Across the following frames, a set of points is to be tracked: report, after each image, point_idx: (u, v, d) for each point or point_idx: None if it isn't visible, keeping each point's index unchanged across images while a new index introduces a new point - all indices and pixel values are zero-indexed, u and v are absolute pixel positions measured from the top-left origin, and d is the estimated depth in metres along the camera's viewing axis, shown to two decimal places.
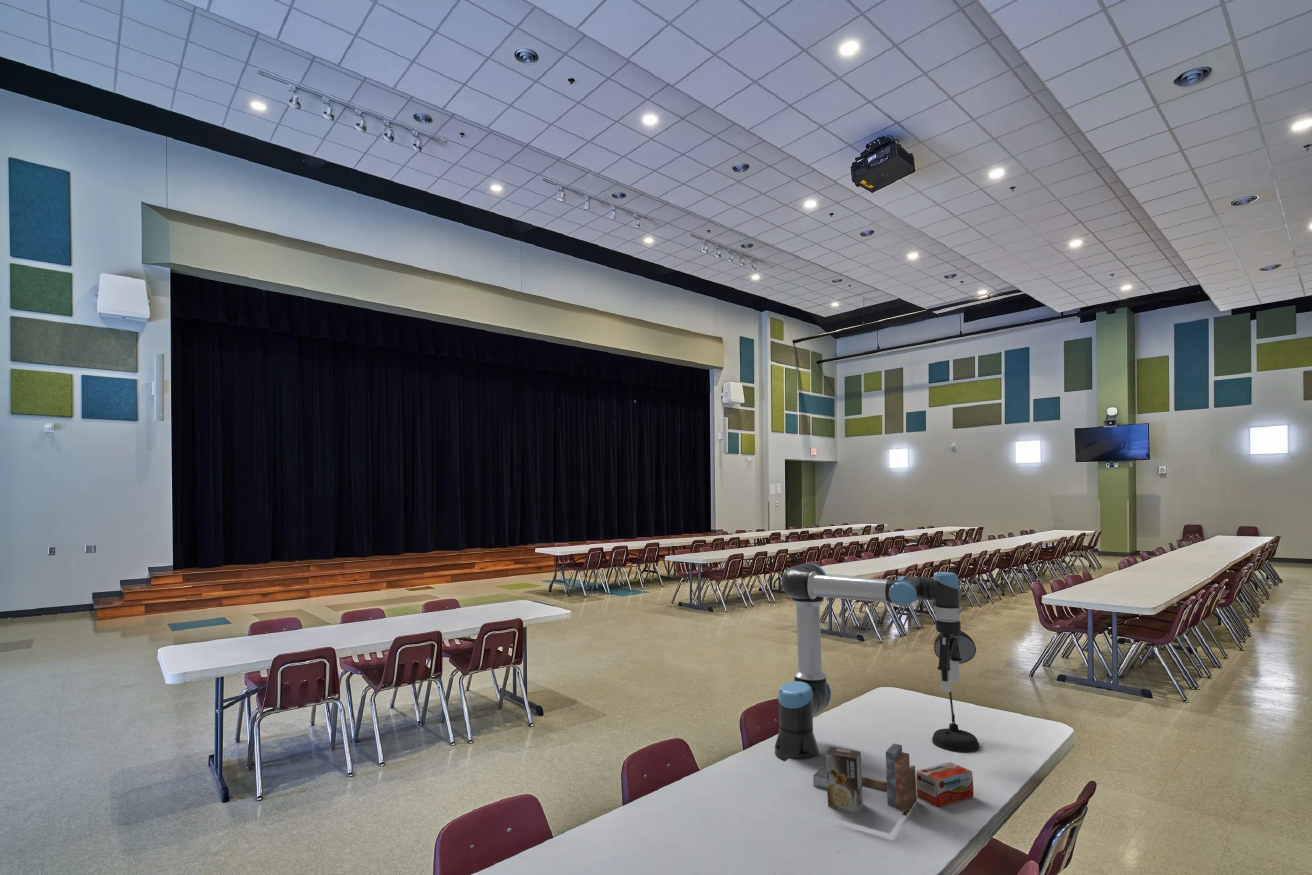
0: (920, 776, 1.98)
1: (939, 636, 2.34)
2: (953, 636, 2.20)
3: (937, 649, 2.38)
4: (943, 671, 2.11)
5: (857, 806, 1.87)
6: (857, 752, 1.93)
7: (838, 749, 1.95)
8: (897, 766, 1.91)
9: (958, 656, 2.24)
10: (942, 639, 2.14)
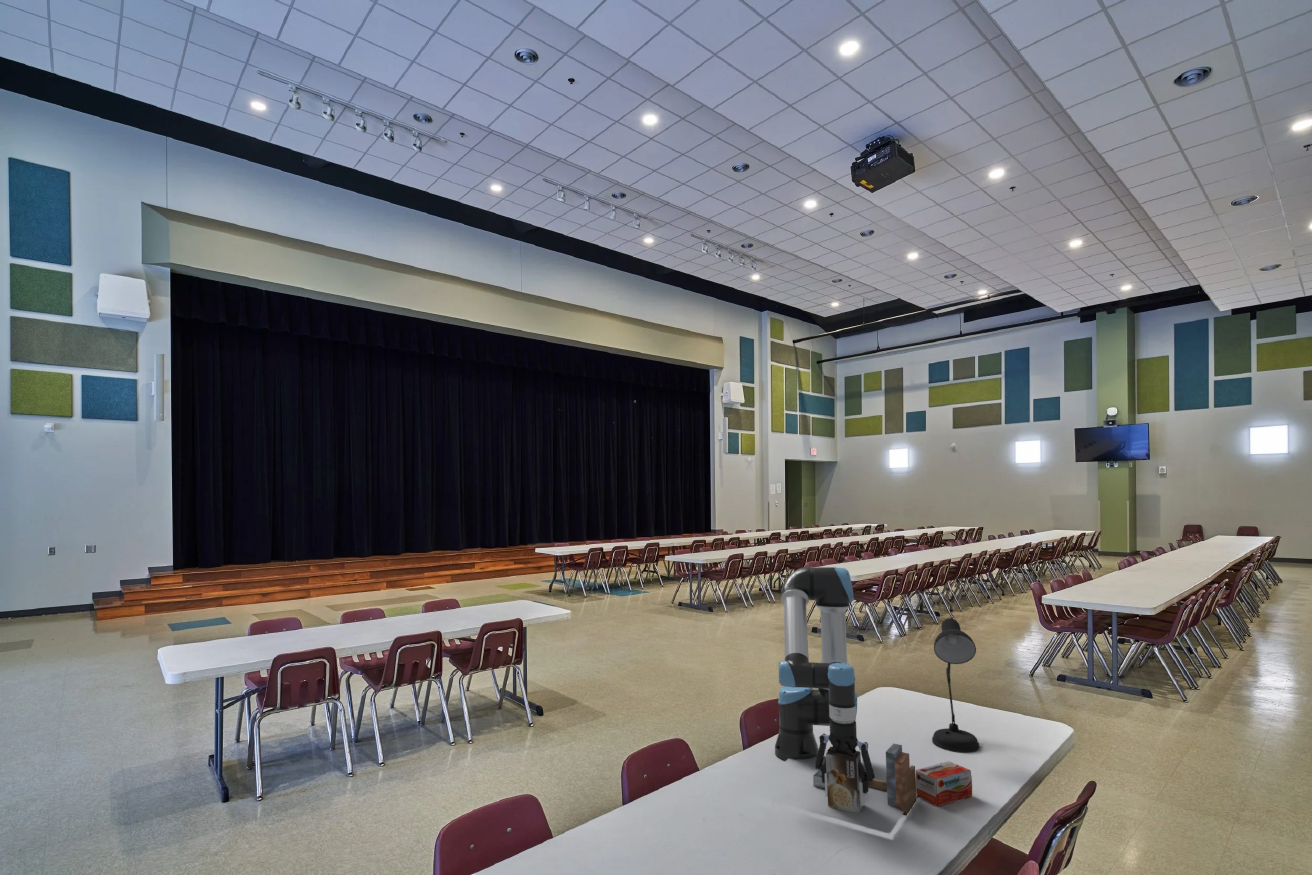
0: (920, 775, 1.99)
1: (939, 636, 2.34)
2: (848, 740, 1.91)
3: (937, 649, 2.38)
4: None
5: (857, 806, 1.87)
6: (857, 752, 1.93)
7: None
8: (897, 766, 1.91)
9: (863, 776, 1.88)
10: None
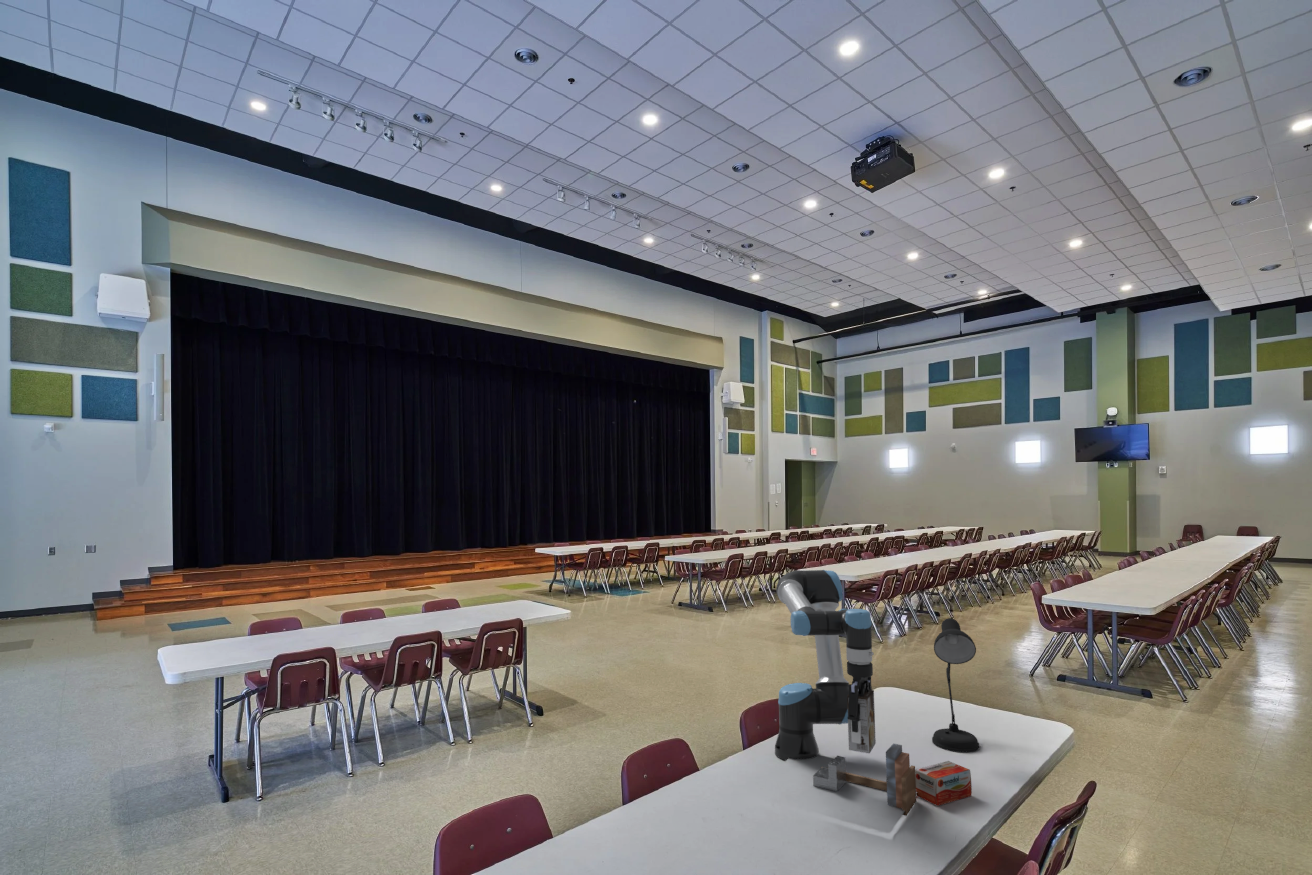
0: (919, 775, 1.99)
1: (939, 636, 2.34)
2: (865, 678, 2.03)
3: (937, 649, 2.38)
4: (853, 721, 1.96)
5: None
6: None
7: None
8: (897, 766, 1.91)
9: None
10: (851, 686, 1.97)
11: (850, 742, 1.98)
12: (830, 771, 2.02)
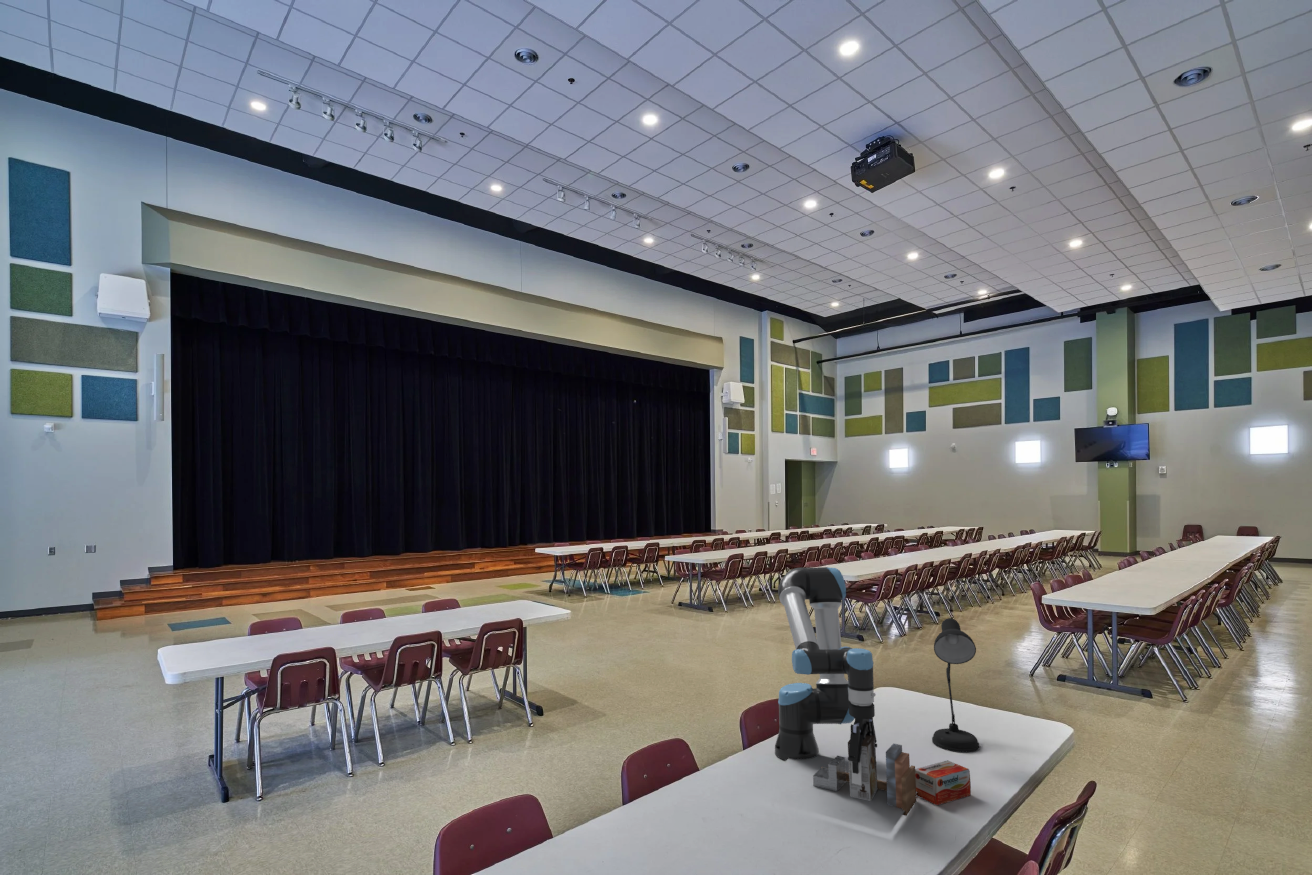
0: (919, 774, 1.99)
1: (939, 636, 2.34)
2: (867, 719, 2.02)
3: (937, 649, 2.38)
4: (853, 762, 1.94)
5: (876, 780, 2.02)
6: None
7: None
8: (897, 766, 1.91)
9: None
10: (853, 726, 1.96)
11: (851, 789, 1.97)
12: (830, 771, 2.02)
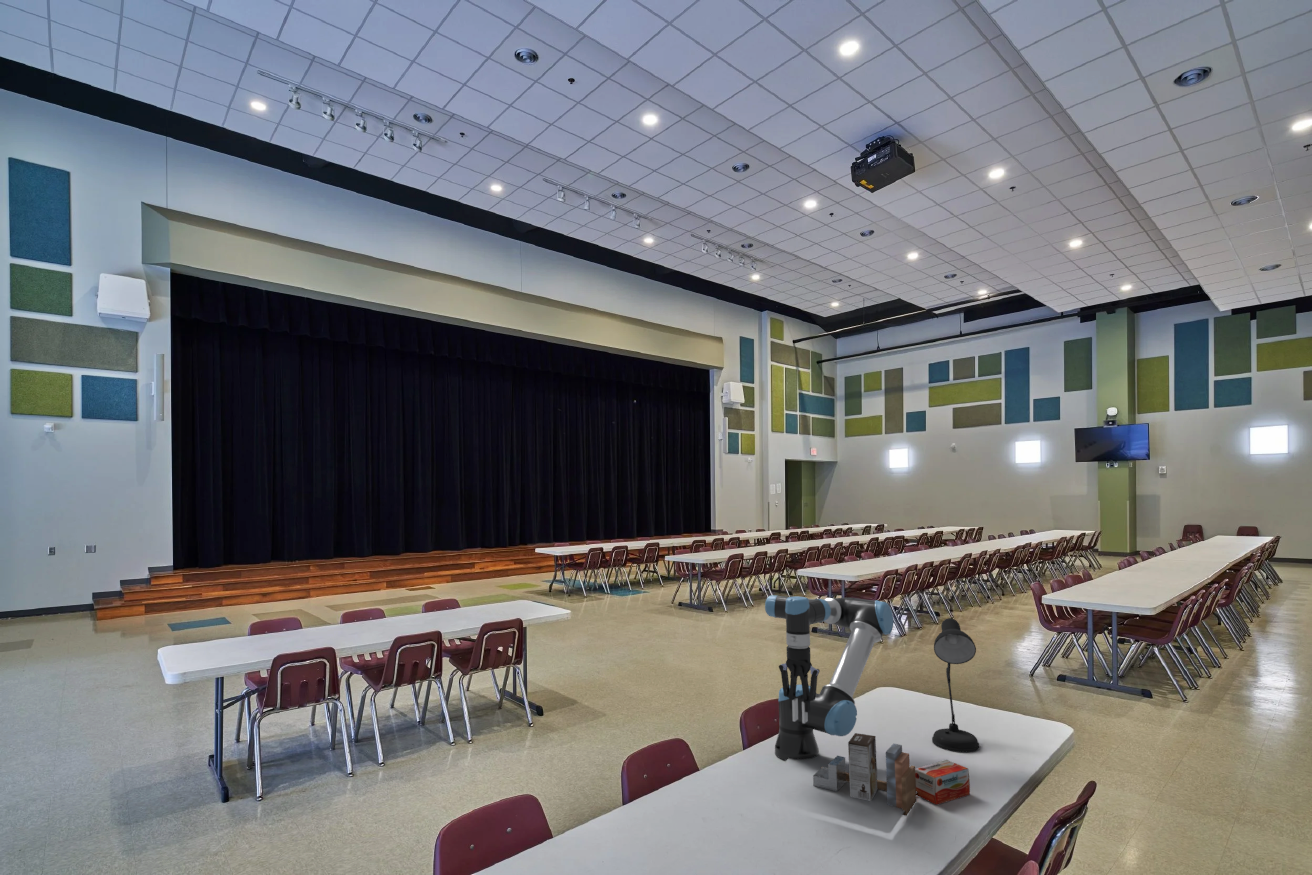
0: (918, 774, 2.00)
1: (939, 636, 2.34)
2: (803, 663, 2.12)
3: (937, 649, 2.38)
4: None
5: (876, 780, 2.02)
6: (859, 734, 2.05)
7: (856, 739, 2.00)
8: (897, 766, 1.91)
9: (806, 697, 2.10)
10: None
11: (851, 789, 1.97)
12: (830, 771, 2.02)
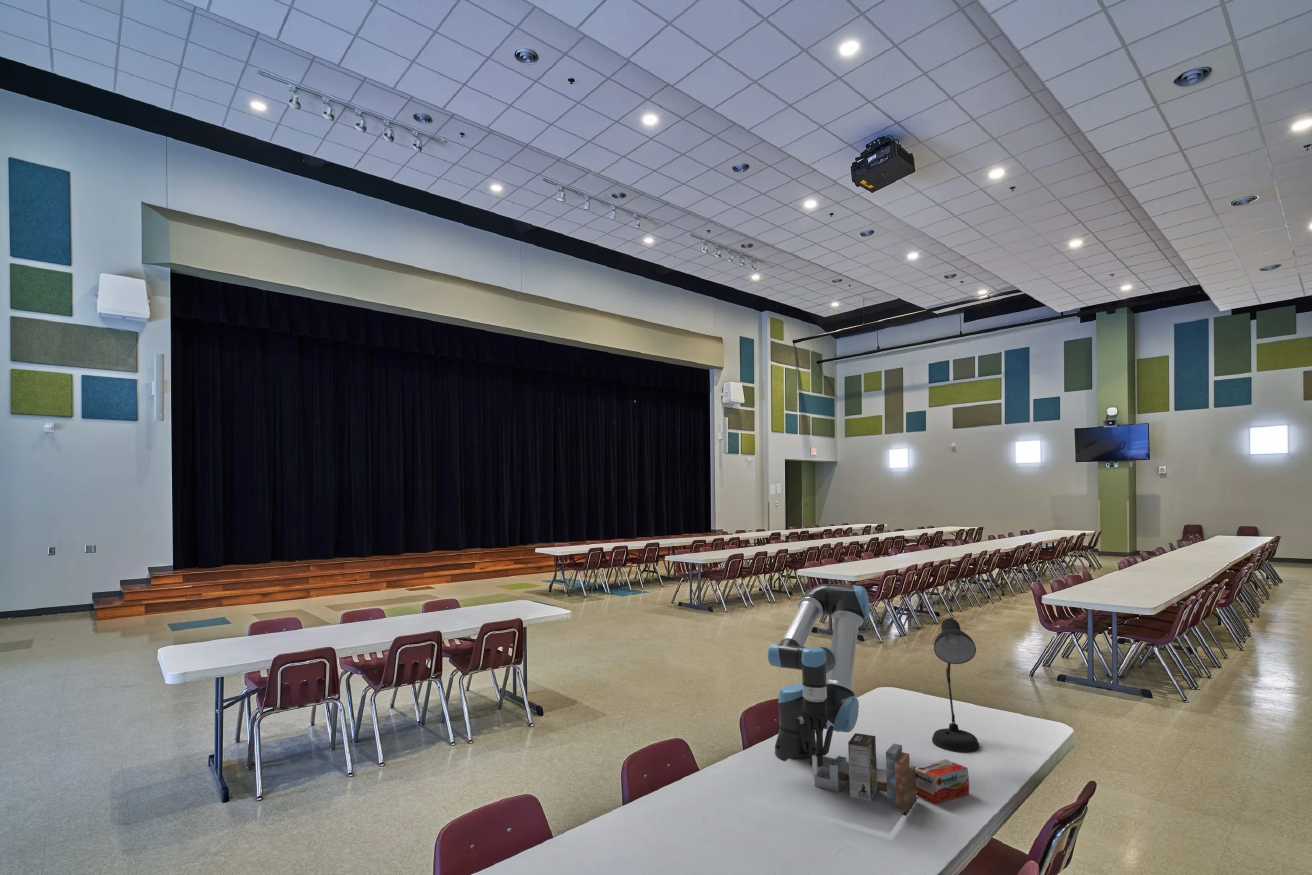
0: (918, 774, 2.00)
1: (939, 636, 2.34)
2: (820, 716, 2.07)
3: (937, 649, 2.38)
4: None
5: (876, 780, 2.02)
6: (859, 734, 2.05)
7: (856, 739, 2.00)
8: (897, 766, 1.91)
9: (819, 752, 2.07)
10: None
11: (851, 789, 1.97)
12: (831, 771, 2.02)
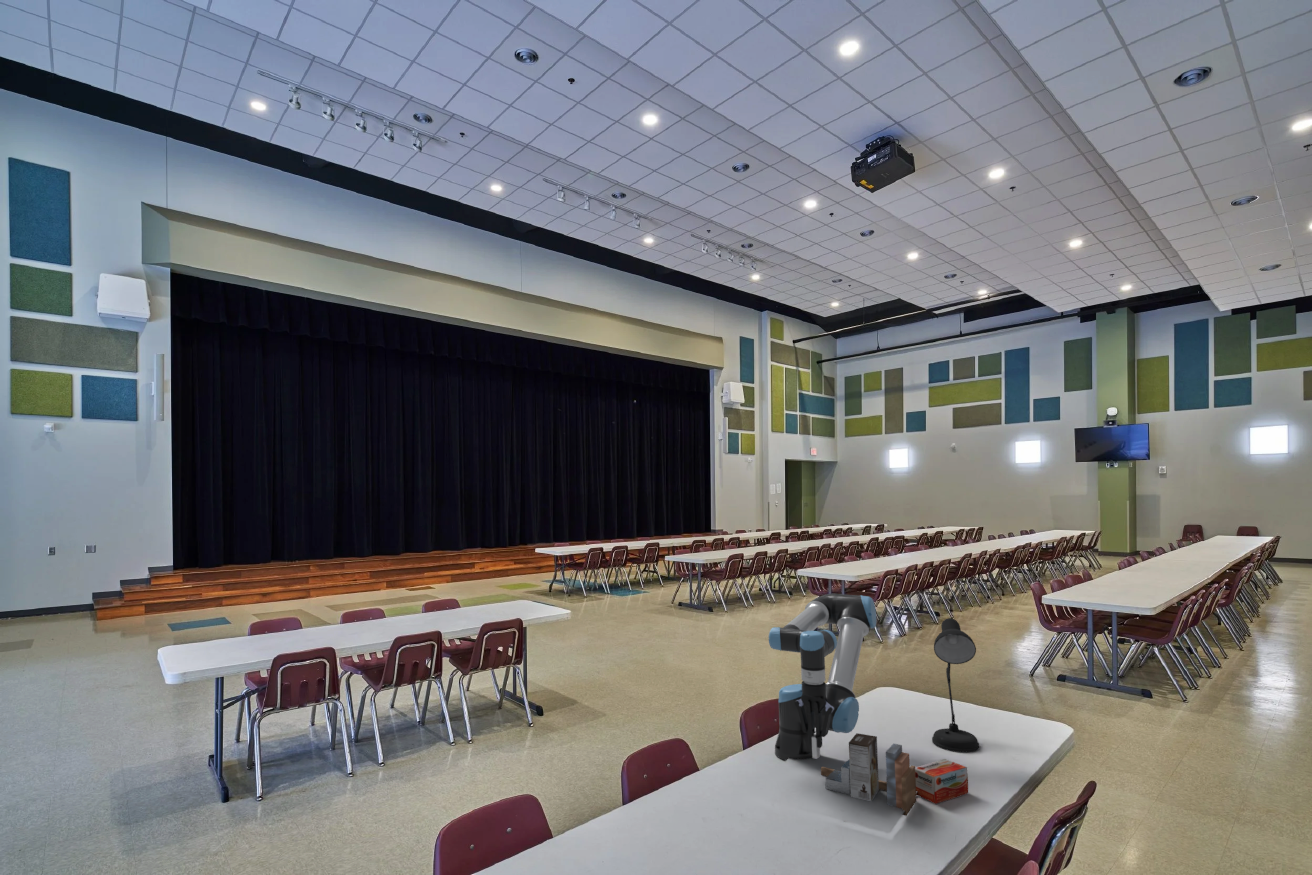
0: (917, 773, 2.00)
1: (939, 636, 2.34)
2: (819, 699, 2.10)
3: (937, 649, 2.38)
4: None
5: (878, 781, 2.01)
6: (860, 734, 2.04)
7: (857, 740, 2.00)
8: (897, 766, 1.91)
9: (819, 733, 2.10)
10: None
11: (852, 789, 1.97)
12: (843, 774, 2.00)
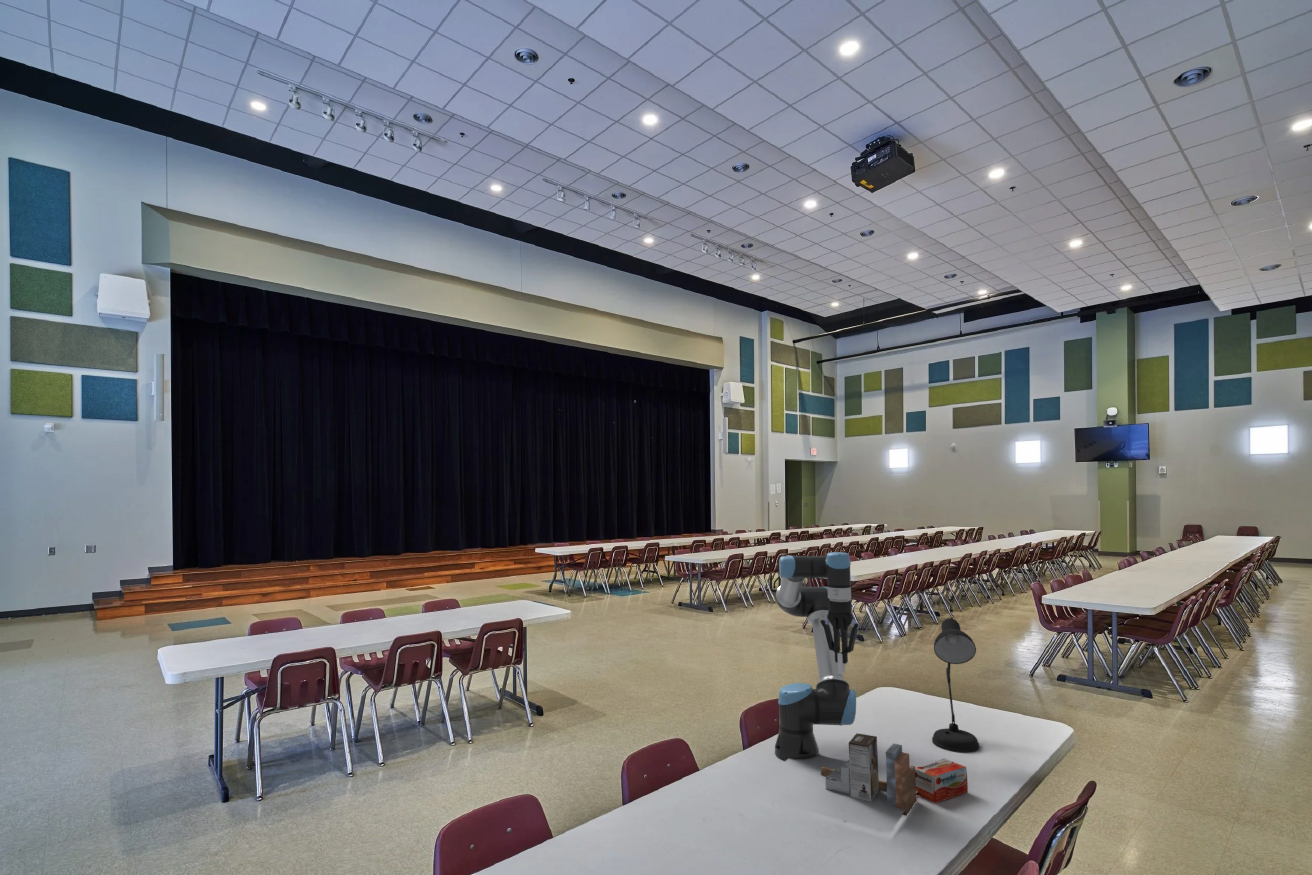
0: (917, 773, 2.00)
1: (939, 636, 2.34)
2: (845, 616, 2.17)
3: (937, 649, 2.38)
4: None
5: (878, 781, 2.01)
6: (860, 734, 2.04)
7: (857, 740, 2.00)
8: (897, 766, 1.91)
9: (844, 649, 2.16)
10: None
11: (852, 789, 1.97)
12: (843, 774, 2.00)
